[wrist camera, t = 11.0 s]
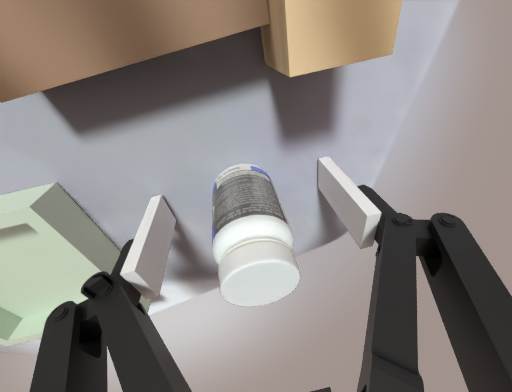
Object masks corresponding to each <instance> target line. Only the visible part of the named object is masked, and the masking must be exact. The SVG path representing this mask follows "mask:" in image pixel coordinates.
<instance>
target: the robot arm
mask: <svg viewBox="0 0 512 392" xmlns="http://www.w3.org/2000/svg"><path fill="white" fill-rule="evenodd" d="M318 188H319V189H320V191H321V192H322V194H323V195H324V197H325V198H326V199H327V201H328V202H329V204H330V205H331V207H332V208H333V210H334V211H335V213H336V214H337V215H338V217H339V218H340V220H341V221H342V223H343V224H344V226H345V227H346V229H347V230H348V232H349V233H350V234H351V236H352V237H353V239H354V240H355V242H356V243H357V245H358V246H359V247H360V249H362V248H366V247H370V246H373V243H374V239H375V240H376V242H377V243H378V244H379V245H378V249H377V252H376V265H375V271H374V279H373V286H372V294H371V301H370V308H369V316H368V323H367V330H366V338H365V345H364V353H363V361H362V368H361V373H360V378H359V383H358V388H357V392H424V385H423V380H422V377H421V376H420V374H419V371H418V356H417V355H418V350H417V290H416V256H419V259H420V261H421V264H422V267H423V269H424V272H425V275H426V277H427V280H428V283H429V285H430V288H431V291H432V294H433V296H434V299H435V301H436V304H437V307H438V310H439V312H440V315H441V318H442V321H443V323H444V326H445V329H446V331H447V334H448V337H449V339H450V342H451V345H452V347H453V350H454V353H455V356H456V358H457V361H458V363H459V366H460V369H461V372H462V374H463V377H464V379H465V382H466V385H467V388H468V391H469V392H512V296H511V295H510V293H509V292H508V290H507V288H506V287H505V285H504V284H503V283H502V281H501V279H500V278H499V276H498V275H497V273H496V272H495V270H494V269H493V267H492V265H491V264H490V262H489V261H488V259H487V258H486V256H485V255H484V253H483V252H482V250H481V249H480V247H479V245H478V244H477V242H476V241H475V239H474V238H473V236H472V234H471V233H470V231H469V230H468V229H467V227H466V225H465V224H464V223H463V221H462V220H461V219H459V218H458V217H456V216H454V215H451V214H447V213H436V214H434V215H433V216H432V217H431V219H430V220H414V219H412V218H411V217H409V216H408V215H406V214H402V213H397V212H396V211H394V210H393V209H392V208H391V207H390V206H389V205H388V204H387V203H386V202H385V201H384V200H383V199H382V198H381V197H380V196H379V195H378V194H376V192H375V191H374V190H373V189H372V188H370V187H368V186H366V185H360V186H356V185H355V184H354V183H353V182H352V181H351V180H350V179H349V178H348V177H347V176H346V175H345V174H344V173H343V172H342V171H341V169H340V168H339V167H338V166H337V165H336V164H335V163H334V162H333V161H332V160H331V159H330V158H329V157H328V156H327V157H323V158H319V159H318ZM175 223H176V219H175V218H174V216H173V214H172V212H171V211H170V209H169V207H168V205H167V204H166V202H165V200H164V198H163V197H162V195H159V196H155V197H152V198H151V200H150V202H149V205H148V207H147V210H146V212H145V215H144V217H143V219H142V222H141V224H140V227H139V229H138V231H137V234H136V236H135V239H132V240H129V241H128V242H127V243H126V244H125V245H124V246H123V248H122V251H121V253H120V255H119V257H118V259H117V260H118V261H117V262H116V264H115V266H114V268H113V270H112V273H111V275H110V274H109V273H107V272H106V271H101V272H98V273H96V274H94V275H92V276H91V277H90V278H89V279H87V280H86V282H85V283H84V284H83V286H82V288H81V294H83V295H84V296H86V297H87V298H88V299H87V300H85V301H83V302H81V303H79V304H76V303H75V302H73V301H67V302H64V303H62V304H61V305H59V306H58V307H56V308H55V309H54V310H53V311H52V312H51V313H50V315H49V316H48V317H47V319H46V322H45V325H44V330H43V334H42V339H41V343H40V348H39V352H38V356H37V361H36V366H35V370H34V374H33V379H32V383H31V388H30V392H107V347H108V350H109V352H110V355H111V358H112V361H113V363H114V367H115V370H116V372H117V376H118V378H119V381H120V384H121V387H122V390H123V392H192V391H191V389H190V388H189V386H188V384H187V382H186V381H185V379H184V377H183V375H182V374H181V372H180V370H179V368H178V367H177V365H176V363H175V361H174V360H173V358H172V356H171V354H170V352H169V351H168V349H167V347H166V345H165V344H164V342H163V340H162V338H161V337H160V335H159V333H158V331H157V330H156V328H155V326H154V325H153V323H152V321H151V319H150V317H149V316H148V314H147V312H146V310H145V309H144V307H143V305H142V304H141V303H140V302H139V301H140V298H141V295H142V296H143V297H144V298H145V299H146V300H148V299H152V298H156V297H159V294H160V290H161V285H162V281H163V276H164V272H165V267H166V263H167V259H168V254H169V250H170V245H171V241H172V236H173V232H174V227H175ZM311 392H331V389H330V387H328V388H324V389H320V390H316V391H311Z"/></svg>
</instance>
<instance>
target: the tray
mask: <svg viewBox="0 0 512 392" xmlns="http://www.w3.org/2000/svg"><path fill="white" fill-rule="evenodd" d="M120 253H121V252H120V250H119V249H118V248H117V247H116V246H115V245H114V244H113V243H112V242H111V241H110V240H109V239H108V237H107V236H106V235H105V234H104V233H103V232H102V231H101V230H100V229H99V228H98V227H97V226H96V224H95V223H94V222H93V221H92V220H91V219H90V218H89V217H88V216H87V215H86V214H85V213H84V211H83V210H82V209H81V208H80V207H79V206H78V205H77V204H76V203H75V202H74V201H73V200H72V199H71V197H70V196H69V195H68V194H67V193H66V192H65V191H64V190H63V189H62V188H61V187H60V186H59V184H58V183H57V182H55V183H51V184H47V185H42V186H38V187H34V188H29V189H25V190H21V191H16V192H12V193H7V194H3V195H0V345H3V346H5V347H8V346H12V345H16V344H20V343H24V342H28V341H33V340H37V339H41V338H42V334H43V330H44V325H45V322H46V319H47V317H48V316H49V315H50V313H51V312H52V311H53V310H54V309H55V308H56V307H58V306H59V305H61V304H62V303H64V302H67V301H73V302H75V303H76V304H79V303H81V302H83V301H85V300H87V299H88V298H87V297H86V296H84V295H83V294H81V288H82V286H83V284H84V283H85V282H86V280H87V279H89V278H90V277H91V276H92V275H94V274H96V273H98V272H101V271H106V272H107V273H109V274H110V275H111V273H112V270H113V268H114V266H115V264H116V262H117V261H118V260H117V259H118V257H119V255H120ZM139 302H140V303H141V304H142V305H143V307H144V309H145V310H146V312H147V313H148V310H149V306H150V302H151V299H148V300H146V299H145V298H144V297H143V296H142V295H141V298H140V301H139Z"/></svg>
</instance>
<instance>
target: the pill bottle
mask: <svg viewBox="0 0 512 392" xmlns="http://www.w3.org/2000/svg"><path fill="white" fill-rule="evenodd" d="M212 213H213V214H212V218H213V228H212V252H213V256H214V259H215V261H216V262H217V264H218V265H219V270H218V274H219V287H220V293H221V295H222V297H223V298H224V299H225V300H226V301H227V302H229V303H231V304H233V305H237V306H243V307H255V306H261V305H266V304H270V303H273V302H276V301H278V300H280V299H282V298H284V297H286V296H287V295H288V294H290V293H291V292H292V291H293V290H294V289H295V288H296V286H297V285H298V283H299V281H300V272H299V269H298V266H297V263H296V260H295V257H294V254H293V252H292V249H293V245H294V238H293V233H292V230H291V227H290V225H289V223H288V220H287V218H286V215H285V213H284V210H283V208H282V205H281V203H280V201H279V198H278V195H277V193H276V190H275V187H274V185H273V183H272V180H271V178H270V176H269V175H268V174H267V172H266V171H264V170H263V169H262V168H260V167H258V166H256V165H252V164H237V165H234V166H231V167H229V168H227V169H225V170H224V171H223V172H221V173H220V175H219V176H218V177H217V179H216V181H215V183H214V187H213V209H212Z"/></svg>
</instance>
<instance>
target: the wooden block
mask: <svg viewBox="0 0 512 392" xmlns="http://www.w3.org/2000/svg"><path fill="white" fill-rule="evenodd" d="M267 5H268V12H269V19H270V24H266V25H263V26H261V34H262V42H263V50H264V58H265V65H267V66H269V67H271V68H273V69H275V70H277V71H279V72H281V73H282V74H284V75H286V76H288V77H294V76H298V75H303V74H307V73H312V72H316V71H320V70H325V69H329V68H334V67H338V66H343V65H347V64H351V63H356V62H360V61H365V60H369V59H374V58H378V57H382V56H387V55H391V54H392V53H393V48H394V42H395V37H396V32H397V26H398V21H399V16H400V10H401V5H402V0H267Z"/></svg>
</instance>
